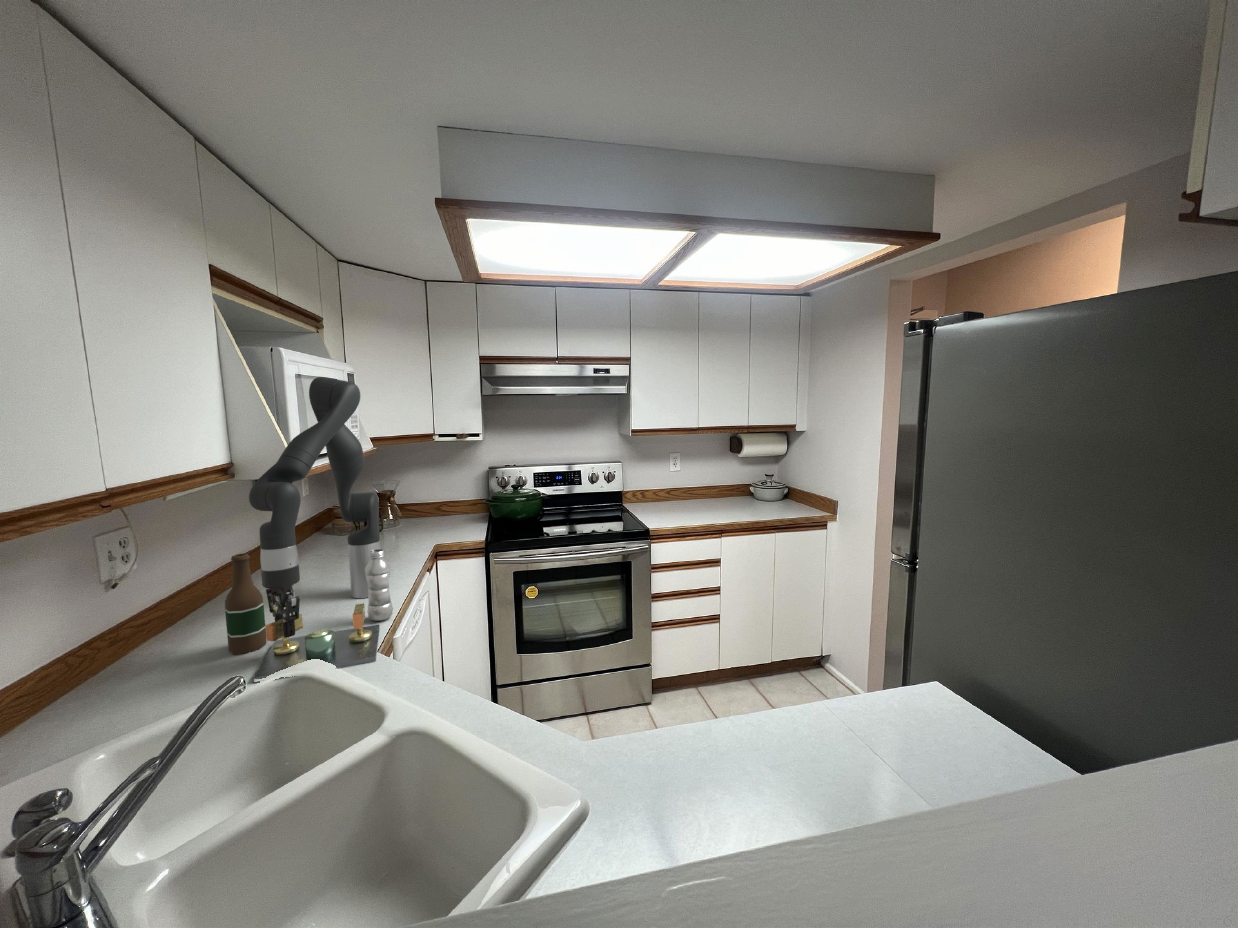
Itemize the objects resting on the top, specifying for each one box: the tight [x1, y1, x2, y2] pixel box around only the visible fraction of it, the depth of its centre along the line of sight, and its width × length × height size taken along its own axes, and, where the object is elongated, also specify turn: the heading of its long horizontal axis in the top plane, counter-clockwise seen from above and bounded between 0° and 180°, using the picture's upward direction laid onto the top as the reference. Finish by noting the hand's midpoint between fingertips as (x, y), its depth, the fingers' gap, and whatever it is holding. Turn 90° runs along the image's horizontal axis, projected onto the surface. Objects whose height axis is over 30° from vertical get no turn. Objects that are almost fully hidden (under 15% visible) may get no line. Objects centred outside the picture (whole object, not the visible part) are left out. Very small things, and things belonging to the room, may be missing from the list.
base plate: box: [253, 624, 381, 680], centre depth 123 cm, size 20×24×7 cm
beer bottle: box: [224, 553, 267, 655], centre depth 125 cm, size 8×8×24 cm
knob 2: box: [349, 602, 372, 642], centre depth 128 cm, size 8×5×8 cm
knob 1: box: [265, 613, 304, 655], centre depth 121 cm, size 8×5×8 cm
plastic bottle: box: [365, 548, 394, 622], centre depth 143 cm, size 6×7×20 cm
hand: (285, 633), depth 121 cm, fingers open, 4 cm apart
